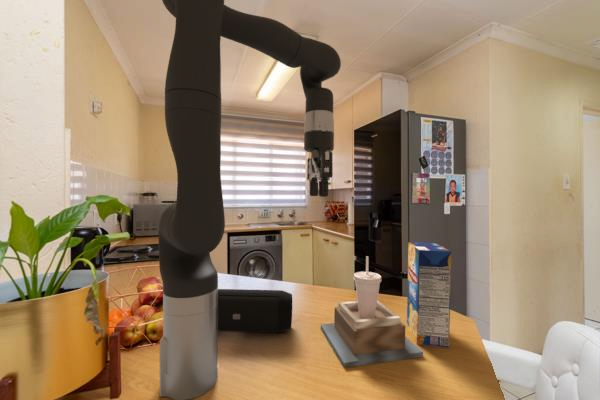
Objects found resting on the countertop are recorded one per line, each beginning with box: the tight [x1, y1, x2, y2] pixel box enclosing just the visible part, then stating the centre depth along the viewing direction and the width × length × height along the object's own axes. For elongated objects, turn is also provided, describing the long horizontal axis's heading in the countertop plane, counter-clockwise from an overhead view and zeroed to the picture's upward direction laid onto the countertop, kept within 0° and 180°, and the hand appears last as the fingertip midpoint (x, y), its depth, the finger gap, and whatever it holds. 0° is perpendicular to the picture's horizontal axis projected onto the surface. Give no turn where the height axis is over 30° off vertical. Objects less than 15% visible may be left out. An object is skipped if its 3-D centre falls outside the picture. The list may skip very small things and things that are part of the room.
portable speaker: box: [218, 288, 293, 333], centre depth 68 cm, size 26×10×10 cm, turn 88°
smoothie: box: [353, 255, 382, 319], centre depth 63 cm, size 6×6×14 cm
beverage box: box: [406, 241, 452, 349], centre depth 66 cm, size 7×11×22 cm, turn 170°
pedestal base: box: [320, 300, 424, 368], centre depth 63 cm, size 18×16×8 cm
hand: (318, 196), depth 68 cm, fingers open, 8 cm apart
